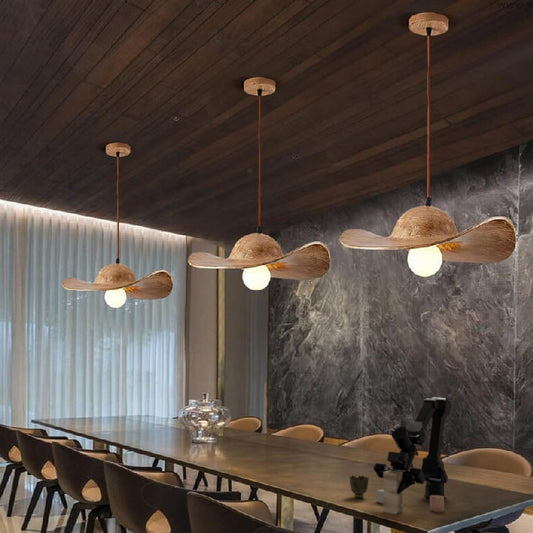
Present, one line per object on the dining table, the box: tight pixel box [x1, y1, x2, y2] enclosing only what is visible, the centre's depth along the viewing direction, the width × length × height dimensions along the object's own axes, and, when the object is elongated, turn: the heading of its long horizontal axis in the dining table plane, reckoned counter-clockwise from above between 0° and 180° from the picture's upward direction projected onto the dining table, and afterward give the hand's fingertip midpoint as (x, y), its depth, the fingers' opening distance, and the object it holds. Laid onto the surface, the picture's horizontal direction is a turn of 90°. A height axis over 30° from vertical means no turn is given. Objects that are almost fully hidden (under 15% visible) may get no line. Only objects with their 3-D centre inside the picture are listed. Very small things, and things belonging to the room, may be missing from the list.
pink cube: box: [429, 495, 445, 513], centre depth 260 cm, size 5×5×5 cm
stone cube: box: [376, 489, 383, 504], centre depth 272 cm, size 4×4×4 cm
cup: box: [349, 475, 369, 499], centre depth 279 cm, size 8×7×8 cm
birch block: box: [382, 470, 404, 515], centre depth 257 cm, size 5×5×14 cm
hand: (391, 492), depth 256 cm, fingers closed on birch block, 5 cm apart
